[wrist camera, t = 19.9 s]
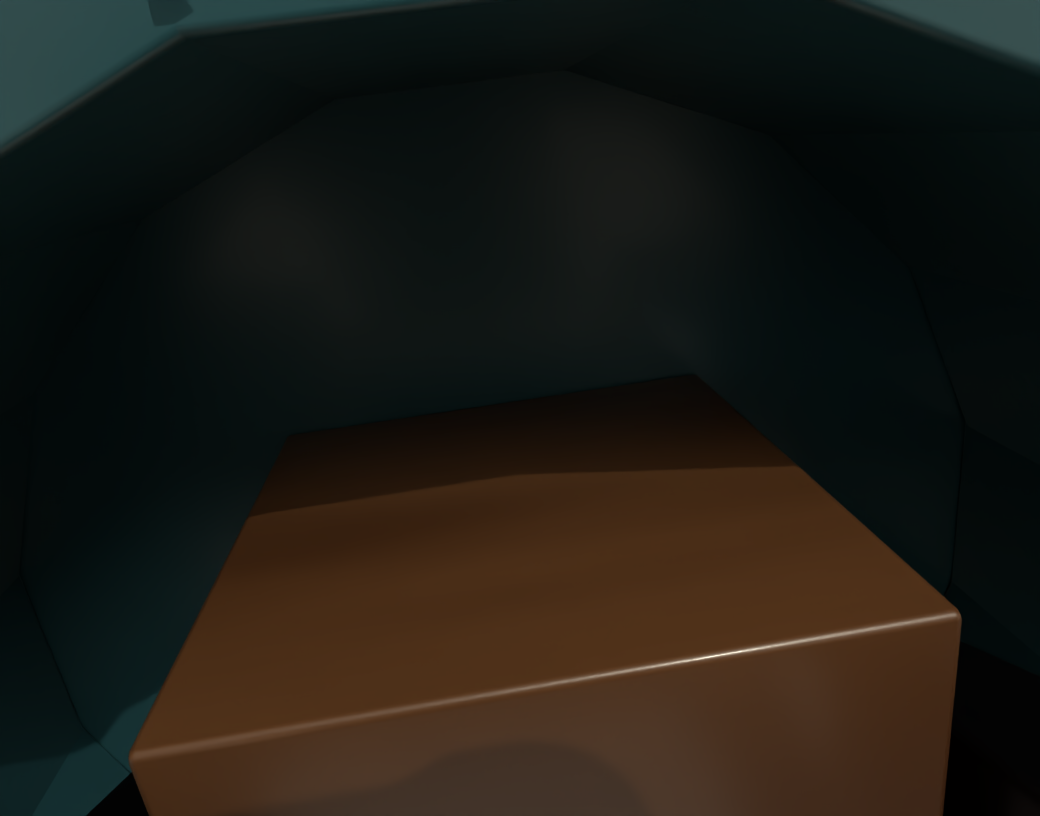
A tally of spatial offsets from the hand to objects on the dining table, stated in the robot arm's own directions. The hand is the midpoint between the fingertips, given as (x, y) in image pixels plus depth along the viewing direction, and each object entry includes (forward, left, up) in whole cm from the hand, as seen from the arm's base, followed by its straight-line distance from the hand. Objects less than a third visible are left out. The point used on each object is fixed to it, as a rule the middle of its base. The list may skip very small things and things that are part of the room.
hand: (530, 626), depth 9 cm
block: (0, 0, -1) cm, 1 cm away
